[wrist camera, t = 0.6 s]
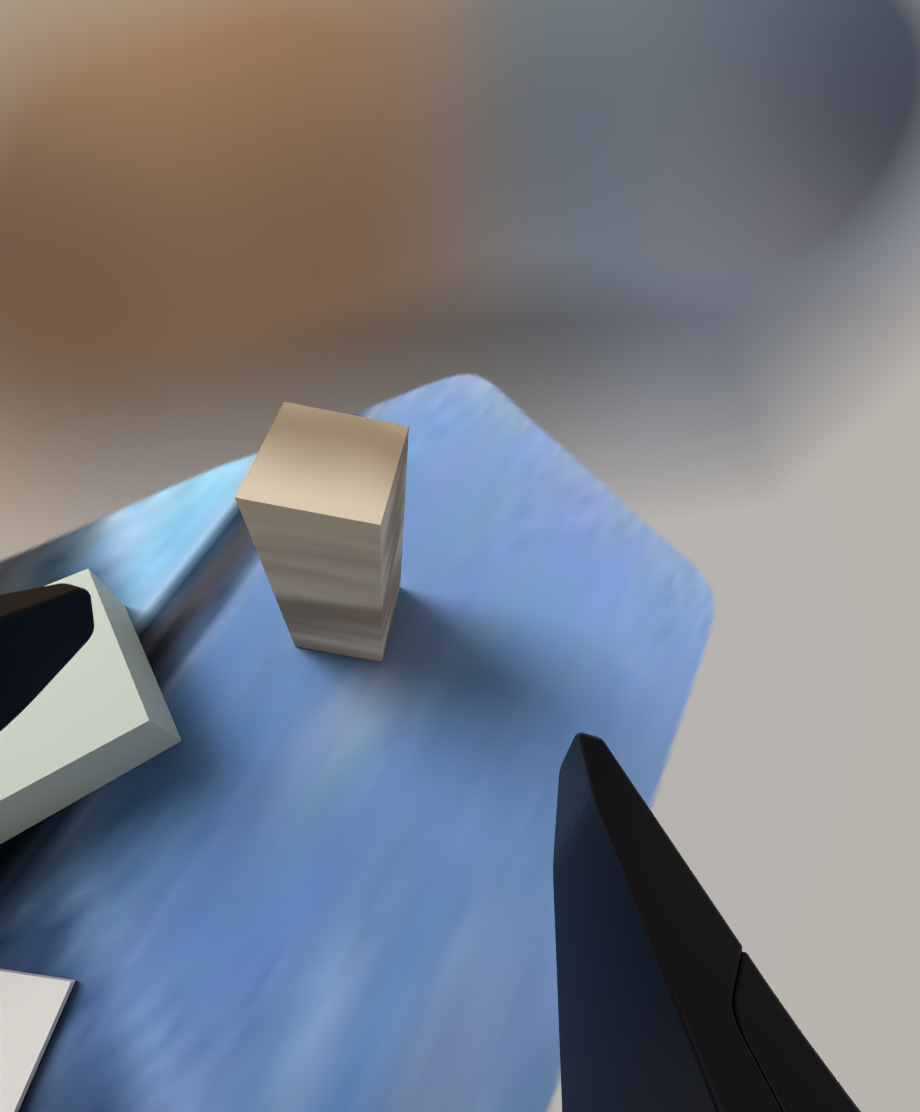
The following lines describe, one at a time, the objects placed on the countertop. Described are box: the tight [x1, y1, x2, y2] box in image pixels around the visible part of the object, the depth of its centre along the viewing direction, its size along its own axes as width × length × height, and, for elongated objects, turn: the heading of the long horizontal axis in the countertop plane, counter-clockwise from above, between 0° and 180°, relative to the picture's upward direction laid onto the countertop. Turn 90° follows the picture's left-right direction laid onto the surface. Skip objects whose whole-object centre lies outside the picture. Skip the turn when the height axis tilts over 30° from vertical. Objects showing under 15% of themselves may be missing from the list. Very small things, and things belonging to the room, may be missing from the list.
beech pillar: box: [235, 402, 409, 662], centre depth 21 cm, size 4×4×12 cm
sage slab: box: [0, 569, 182, 844], centre depth 20 cm, size 10×8×4 cm
